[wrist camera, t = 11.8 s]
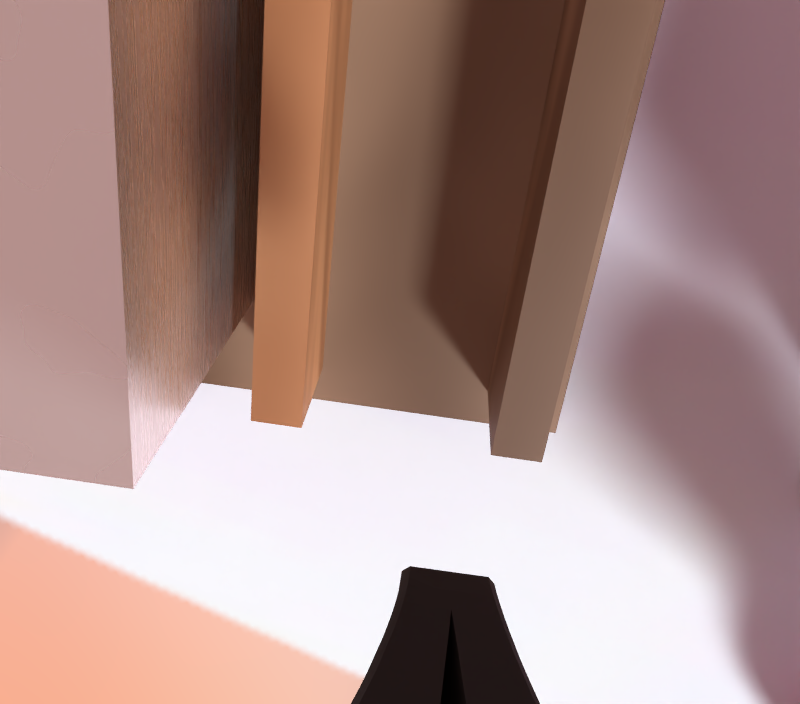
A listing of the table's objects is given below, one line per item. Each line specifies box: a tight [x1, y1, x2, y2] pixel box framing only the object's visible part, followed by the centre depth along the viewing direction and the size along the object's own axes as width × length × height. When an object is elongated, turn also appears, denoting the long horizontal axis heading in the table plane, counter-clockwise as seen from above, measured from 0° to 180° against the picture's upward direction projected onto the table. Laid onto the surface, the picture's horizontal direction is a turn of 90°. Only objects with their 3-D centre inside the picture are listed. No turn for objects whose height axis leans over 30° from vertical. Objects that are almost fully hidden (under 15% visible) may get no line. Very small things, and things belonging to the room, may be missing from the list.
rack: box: [201, 0, 665, 462], centre depth 17 cm, size 20×14×4 cm
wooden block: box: [0, 0, 263, 489], centre depth 14 cm, size 9×3×8 cm, turn 173°
